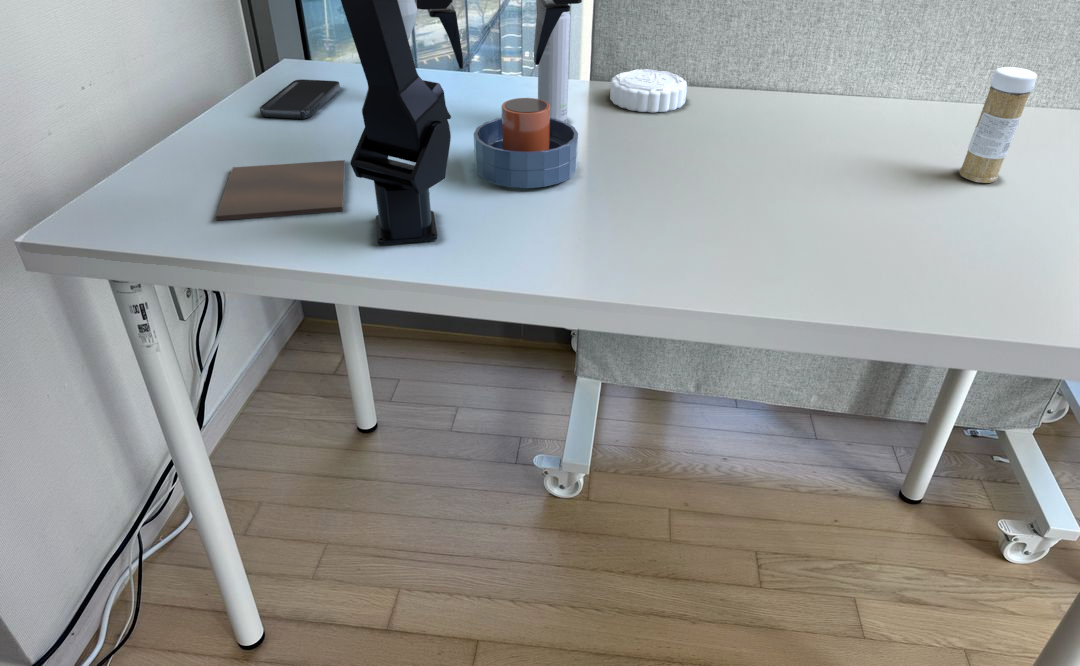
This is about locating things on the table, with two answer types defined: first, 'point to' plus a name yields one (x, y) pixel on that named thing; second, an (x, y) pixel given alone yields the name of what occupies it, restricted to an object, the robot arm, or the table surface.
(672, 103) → the mooncake
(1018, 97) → the sprinkles bottle
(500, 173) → the bowl
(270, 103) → the phone
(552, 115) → the bottle
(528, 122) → the cup
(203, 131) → the table surface
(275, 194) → the coaster board
